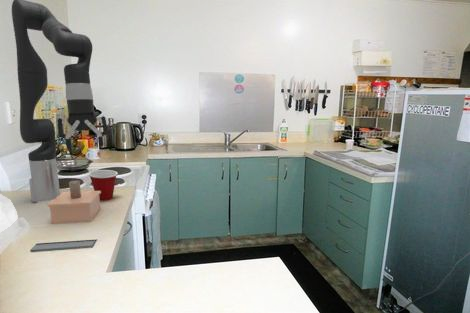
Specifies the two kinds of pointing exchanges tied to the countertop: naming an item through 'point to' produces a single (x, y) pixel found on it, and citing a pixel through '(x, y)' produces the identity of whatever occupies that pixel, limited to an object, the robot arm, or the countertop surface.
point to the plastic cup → (104, 183)
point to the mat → (63, 245)
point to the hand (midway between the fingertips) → (85, 149)
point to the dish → (75, 213)
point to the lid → (74, 196)
